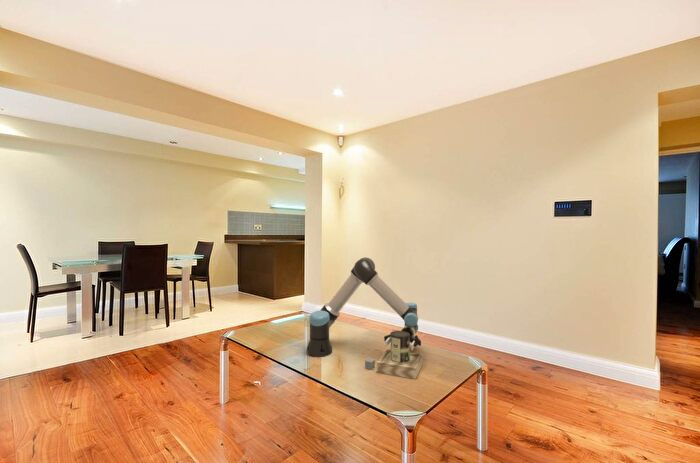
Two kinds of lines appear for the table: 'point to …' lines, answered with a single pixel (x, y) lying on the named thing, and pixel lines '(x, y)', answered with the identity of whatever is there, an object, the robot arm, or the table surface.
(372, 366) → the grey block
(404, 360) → the coffee can
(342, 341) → the table surface
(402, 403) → the table surface
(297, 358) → the table surface
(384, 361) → the light wood tray
